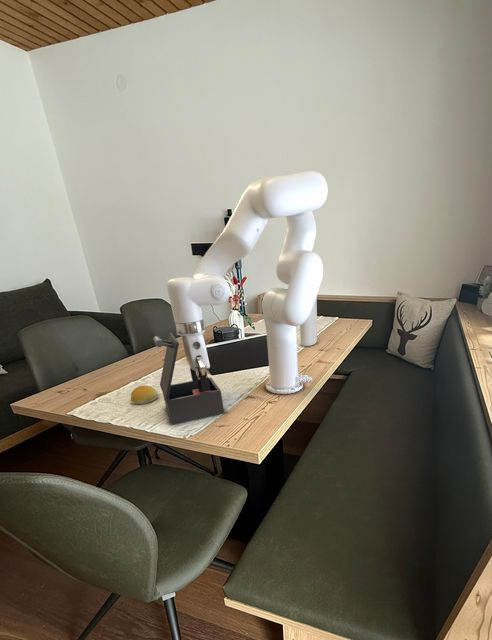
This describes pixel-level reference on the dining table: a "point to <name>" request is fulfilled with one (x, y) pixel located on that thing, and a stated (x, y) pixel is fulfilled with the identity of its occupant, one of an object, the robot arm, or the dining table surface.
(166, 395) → the lid
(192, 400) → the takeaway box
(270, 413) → the dining table surface
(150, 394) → the bread roll
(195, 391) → the block
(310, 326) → the paper towel roll
